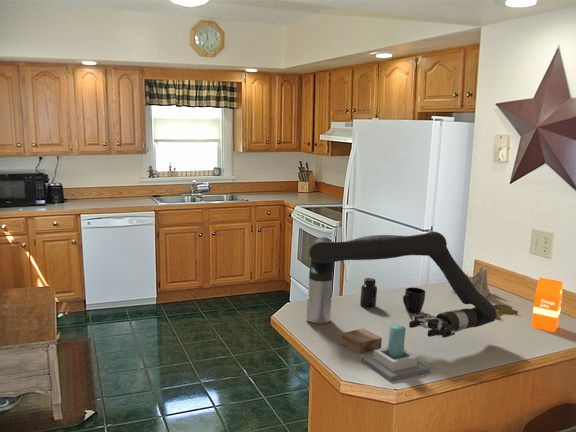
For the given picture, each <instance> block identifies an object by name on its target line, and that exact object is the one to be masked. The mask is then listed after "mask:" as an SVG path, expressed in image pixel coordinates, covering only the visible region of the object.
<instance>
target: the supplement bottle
mask: <svg viewBox="0 0 576 432" xmlns="http://www.w3.org/2000/svg"><path fill="white" fill-rule="evenodd" d="M376 282H377V281H376V279H375V278H372V277H365V278H364V281H363V284H362V285H361V287H360V288H361V290H360V302H359V305H360V306H361V307H363V308H365V309H373V308H375V307H376V306H377V297H378V296H377V295H378V287H377V285H376Z"/></svg>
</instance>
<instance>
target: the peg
mask: <svg viewBox="0 0 576 432" xmlns="http://www.w3.org/2000/svg"><path fill="white" fill-rule="evenodd" d="M405 340H406V327H405V326H404V325H400V324H391V325H389V334H388V346H387V347H388V356H389V357H390V358H392V359H394V360H395V359H399V358H403V353H404V349H405Z"/></svg>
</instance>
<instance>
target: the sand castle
mask: <svg viewBox="0 0 576 432" xmlns="http://www.w3.org/2000/svg"><path fill="white" fill-rule="evenodd" d="M483 267H484V266H480V267H479V269H478V271H477V270H474V271H473V276H469V275H468V274H467V273H465V274H466V276H467V277H468V278H469V280H470V281H471V283H472V284H473V285H474V287H475V288H476V290H477V291H478V292H479V293H480V294H481V295H482V296H484V297H485V298H487V296H488V295H489V294H490V288H489V283H488V269H487V268H485V267H484V268H483ZM451 292H452V294H456V293H455V291H454V290H453V289H452V291H451Z"/></svg>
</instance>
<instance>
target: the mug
mask: <svg viewBox="0 0 576 432" xmlns="http://www.w3.org/2000/svg"><path fill="white" fill-rule="evenodd" d="M402 296H403V297H402V302H403V304H404V307H405V308H404V309H405V310H406V312H407V313H409V314H413V315H418V314H421V311H422V309H423V307H424V304H425V300H426V290H425V289H424V288H419V287H407V288H405V293H404V295H402Z"/></svg>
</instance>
